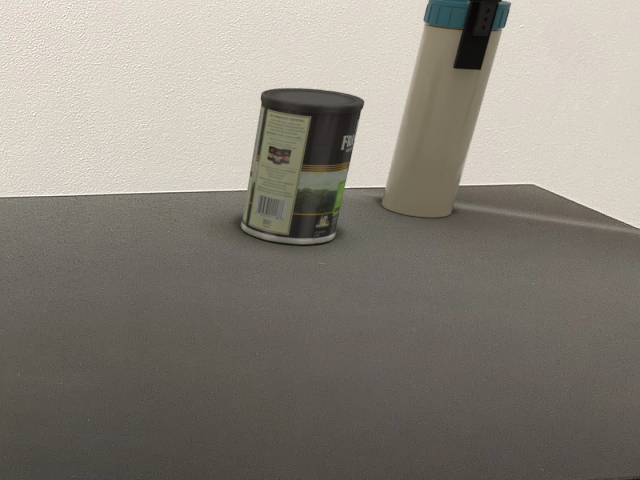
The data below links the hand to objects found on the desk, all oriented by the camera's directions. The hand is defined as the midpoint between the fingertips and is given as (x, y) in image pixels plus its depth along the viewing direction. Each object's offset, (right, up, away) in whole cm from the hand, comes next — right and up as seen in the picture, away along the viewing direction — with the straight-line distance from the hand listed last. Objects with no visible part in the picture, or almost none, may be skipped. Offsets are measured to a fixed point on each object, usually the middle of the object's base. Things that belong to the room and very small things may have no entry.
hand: (454, 62), depth 108 cm
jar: (-1, -14, +9) cm, 16 cm away
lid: (0, +5, -3) cm, 6 cm away
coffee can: (-19, -19, -1) cm, 27 cm away
